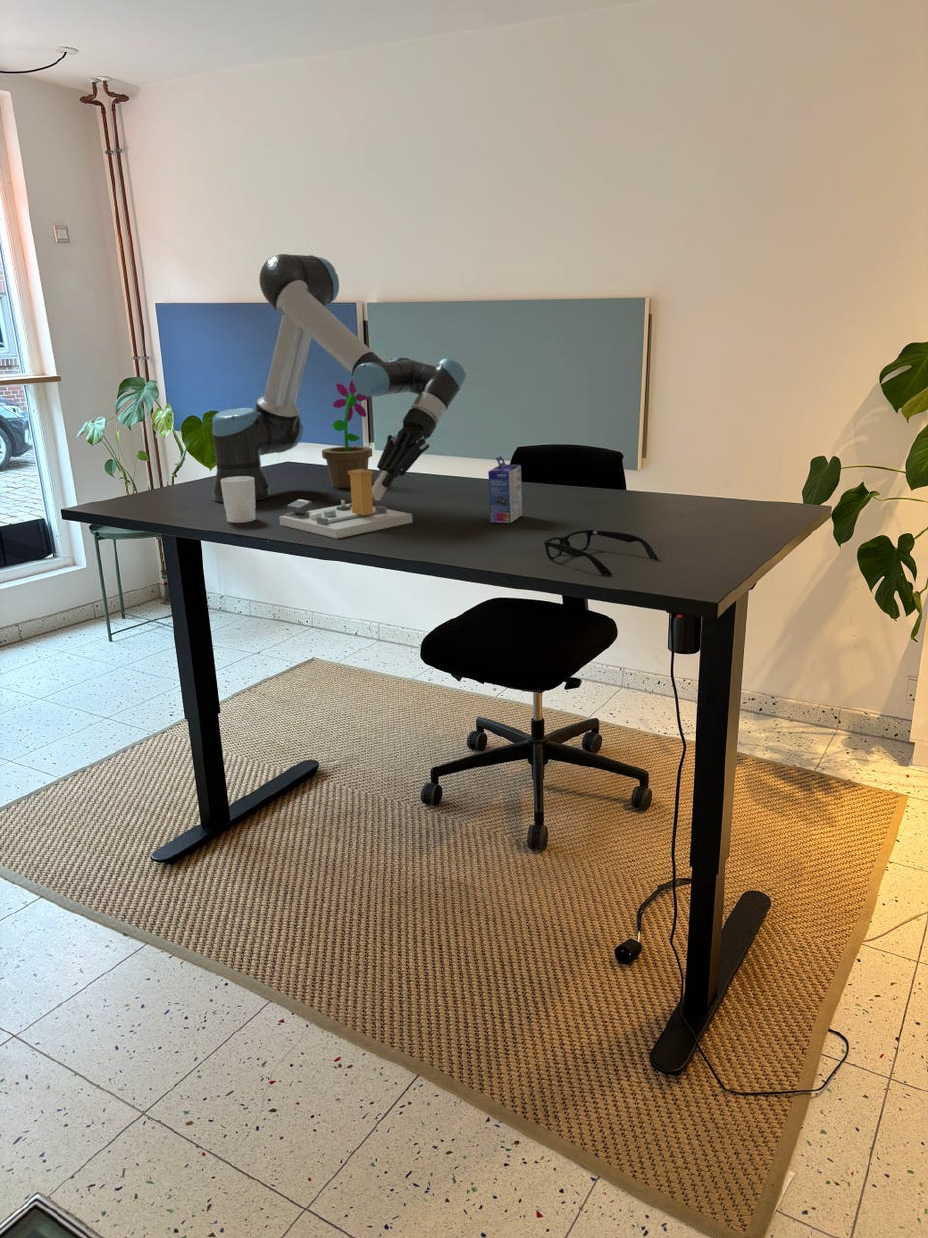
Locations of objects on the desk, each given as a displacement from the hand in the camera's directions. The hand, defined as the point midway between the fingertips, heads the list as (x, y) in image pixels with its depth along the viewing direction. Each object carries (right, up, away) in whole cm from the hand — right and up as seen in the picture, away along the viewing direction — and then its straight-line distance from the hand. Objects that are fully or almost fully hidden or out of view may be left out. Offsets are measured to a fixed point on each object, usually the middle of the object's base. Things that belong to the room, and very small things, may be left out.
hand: (373, 496), depth 213 cm
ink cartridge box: (+31, -5, +4) cm, 31 cm away
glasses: (+47, -18, -35) cm, 61 cm away
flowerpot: (-13, +10, +54) cm, 57 cm away
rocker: (-17, -2, +2) cm, 18 cm away
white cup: (-33, -5, +9) cm, 34 cm away
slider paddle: (-3, -4, 0) cm, 5 cm away
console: (-7, -6, +2) cm, 9 cm away
